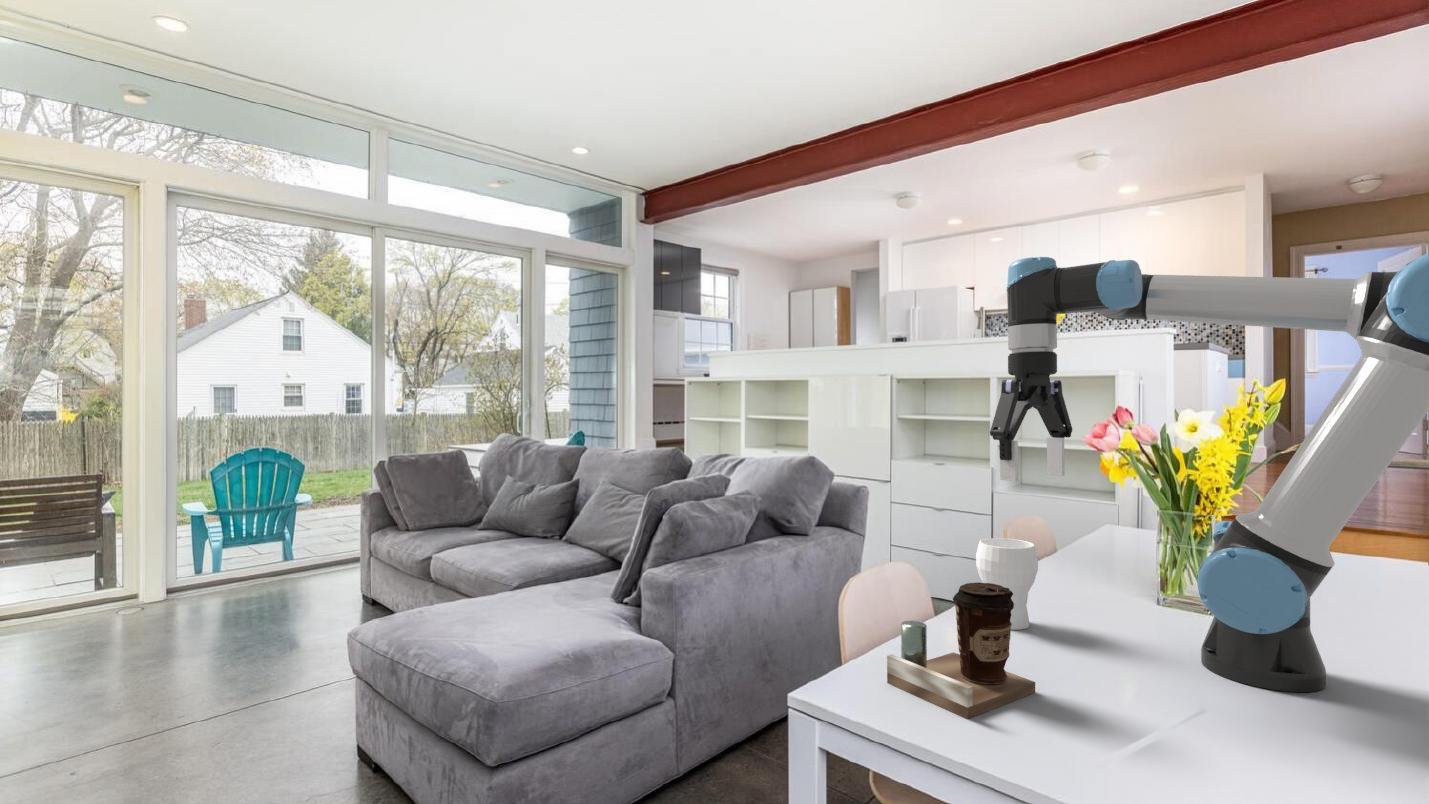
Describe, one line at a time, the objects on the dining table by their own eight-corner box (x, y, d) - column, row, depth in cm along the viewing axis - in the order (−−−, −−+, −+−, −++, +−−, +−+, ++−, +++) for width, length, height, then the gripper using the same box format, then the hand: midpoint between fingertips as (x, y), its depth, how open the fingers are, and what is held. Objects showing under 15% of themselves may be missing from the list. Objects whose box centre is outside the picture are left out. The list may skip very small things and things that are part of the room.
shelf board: (1035, 692, 99) (1035, 664, 99) (967, 718, 91) (967, 688, 91) (953, 661, 111) (953, 636, 111) (887, 682, 102) (887, 655, 102)
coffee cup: (1030, 683, 98) (1029, 592, 98) (985, 693, 95) (985, 598, 95) (983, 662, 106) (983, 577, 106) (940, 671, 103) (940, 583, 103)
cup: (1030, 636, 122) (1030, 551, 122) (968, 625, 128) (968, 544, 128) (1044, 621, 130) (1043, 541, 130) (985, 611, 137) (985, 535, 137)
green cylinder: (931, 673, 102) (931, 625, 102) (915, 678, 100) (915, 630, 100) (912, 665, 105) (912, 619, 105) (896, 670, 103) (896, 623, 103)
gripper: (1052, 355, 127) (1053, 471, 127) (966, 350, 113) (967, 480, 113) (1093, 352, 121) (1094, 474, 121) (1008, 347, 107) (1009, 485, 107)
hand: (1033, 477), depth 117 cm, fingers open, 13 cm apart
